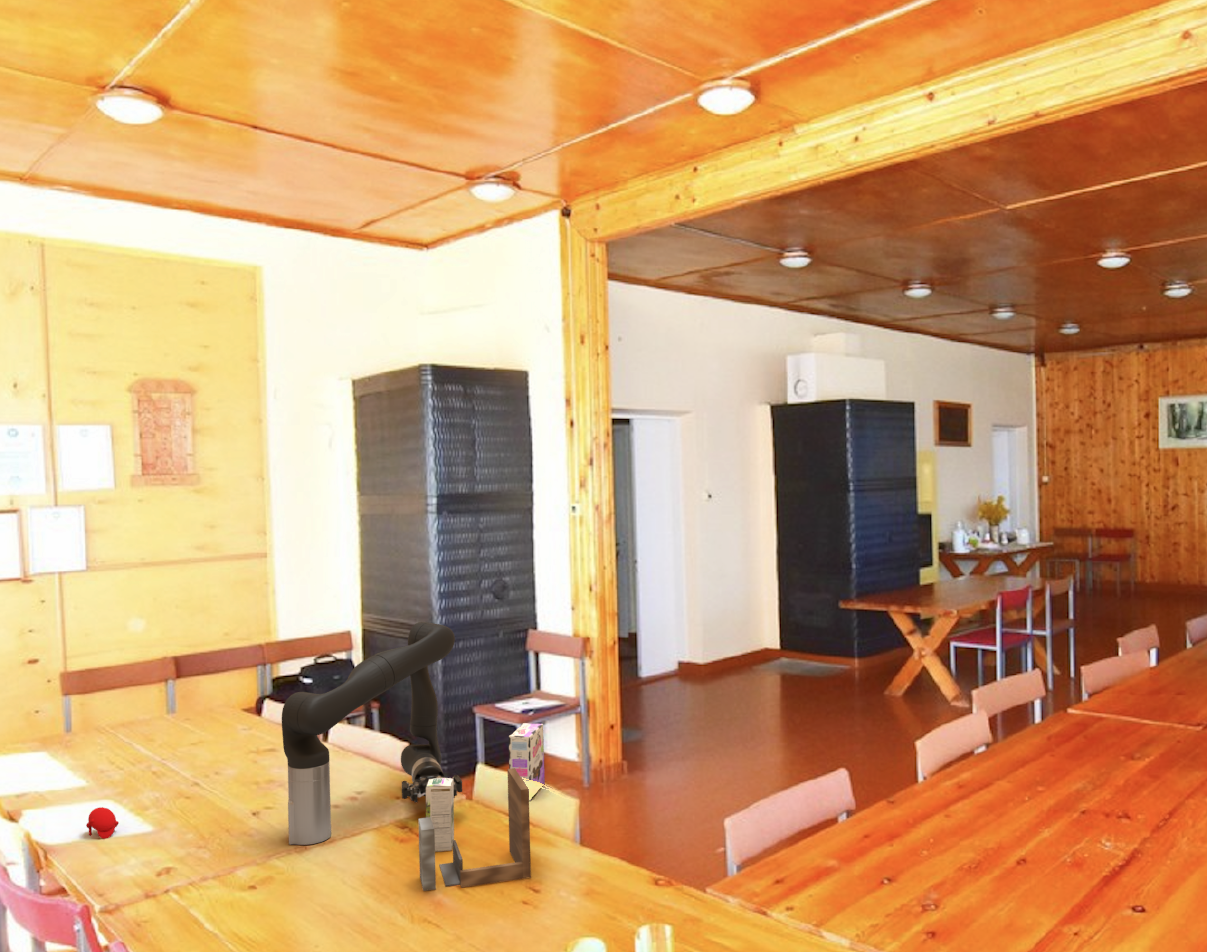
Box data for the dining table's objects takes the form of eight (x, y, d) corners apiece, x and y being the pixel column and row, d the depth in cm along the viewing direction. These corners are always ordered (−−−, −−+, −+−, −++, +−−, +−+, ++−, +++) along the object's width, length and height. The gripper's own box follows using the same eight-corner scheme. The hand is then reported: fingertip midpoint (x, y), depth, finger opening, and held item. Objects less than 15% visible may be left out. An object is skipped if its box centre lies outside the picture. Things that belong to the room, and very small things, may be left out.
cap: (79, 820, 223) (81, 813, 219) (104, 805, 227) (107, 798, 223) (96, 848, 221) (99, 842, 217) (121, 833, 226) (124, 826, 221)
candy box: (531, 801, 238) (529, 736, 238) (509, 800, 239) (507, 735, 239) (545, 784, 251) (544, 722, 251) (524, 783, 252) (522, 722, 253)
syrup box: (428, 842, 212) (427, 778, 212) (455, 841, 212) (453, 777, 212) (426, 852, 206) (424, 786, 206) (453, 851, 206) (451, 785, 206)
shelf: (423, 893, 185) (421, 801, 185) (416, 864, 200) (414, 779, 200) (530, 877, 191) (528, 788, 191) (516, 850, 206) (514, 768, 206)
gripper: (398, 764, 233) (403, 783, 217) (455, 757, 237) (464, 776, 221) (398, 794, 233) (404, 816, 217) (456, 787, 237) (465, 808, 221)
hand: (434, 796), depth 219 cm, fingers open, 8 cm apart
